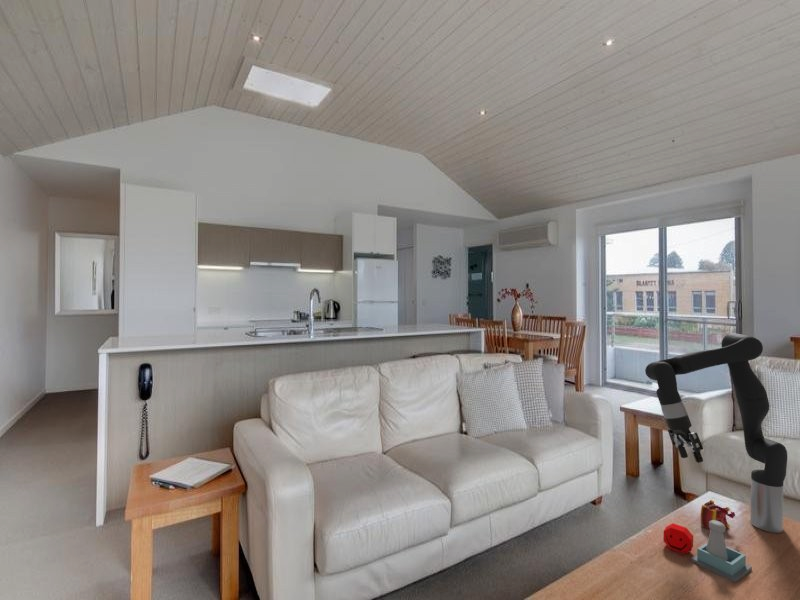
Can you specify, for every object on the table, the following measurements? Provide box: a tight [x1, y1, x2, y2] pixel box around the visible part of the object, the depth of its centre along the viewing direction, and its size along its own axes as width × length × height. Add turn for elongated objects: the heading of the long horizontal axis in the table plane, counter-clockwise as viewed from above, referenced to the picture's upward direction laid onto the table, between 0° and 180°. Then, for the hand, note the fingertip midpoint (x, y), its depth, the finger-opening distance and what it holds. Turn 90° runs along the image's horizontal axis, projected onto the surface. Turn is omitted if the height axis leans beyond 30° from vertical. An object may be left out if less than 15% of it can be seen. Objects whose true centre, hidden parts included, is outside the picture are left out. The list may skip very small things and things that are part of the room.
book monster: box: [700, 499, 736, 531], centre depth 156 cm, size 11×9×12 cm
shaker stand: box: [691, 541, 753, 583], centre depth 135 cm, size 12×12×4 cm
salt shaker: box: [706, 520, 728, 561], centre depth 135 cm, size 6×6×13 cm
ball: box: [662, 523, 694, 555], centre depth 144 cm, size 8×8×8 cm
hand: (692, 459), depth 151 cm, fingers open, 8 cm apart
